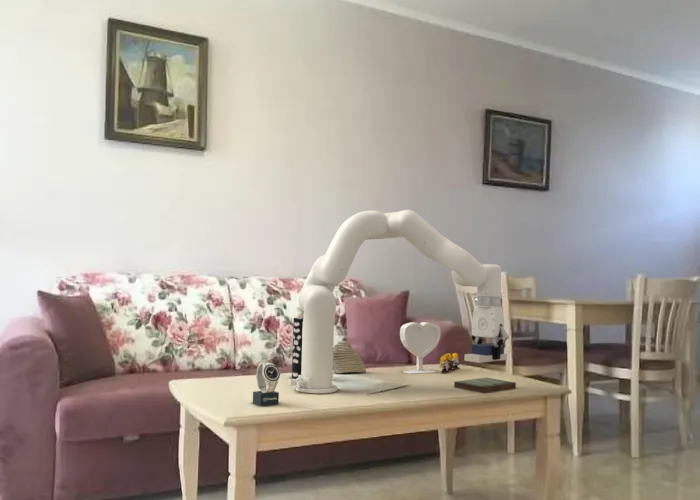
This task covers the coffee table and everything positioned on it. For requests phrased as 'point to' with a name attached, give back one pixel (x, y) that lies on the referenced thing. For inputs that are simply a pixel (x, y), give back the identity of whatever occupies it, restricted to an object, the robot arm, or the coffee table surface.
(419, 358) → the heart sculpture
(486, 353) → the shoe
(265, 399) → the watch
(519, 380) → the coffee table surface
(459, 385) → the green brown rectangular slab
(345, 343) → the fossil tooth
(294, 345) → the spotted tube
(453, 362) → the figurine set
